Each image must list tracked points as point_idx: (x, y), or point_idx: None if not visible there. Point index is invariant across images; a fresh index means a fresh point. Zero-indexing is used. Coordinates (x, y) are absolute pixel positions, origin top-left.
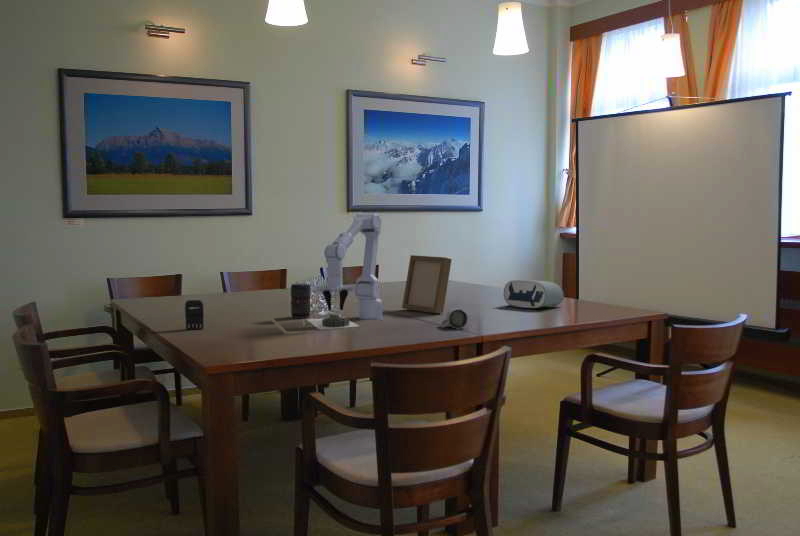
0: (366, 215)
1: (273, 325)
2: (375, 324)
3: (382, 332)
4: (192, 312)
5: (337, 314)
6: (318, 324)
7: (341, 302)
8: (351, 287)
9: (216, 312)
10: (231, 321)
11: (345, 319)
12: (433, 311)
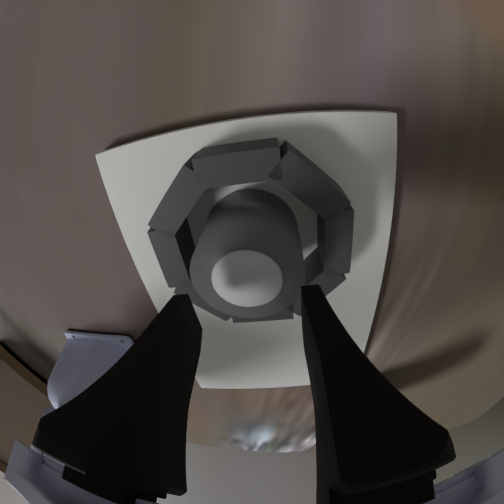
0: None
1: (473, 321)
2: (60, 268)
3: (19, 46)
4: None
5: (232, 269)
6: (356, 271)
7: (164, 361)
8: (19, 480)
9: (445, 421)
10: (491, 366)
11: (173, 235)
12: (3, 351)
